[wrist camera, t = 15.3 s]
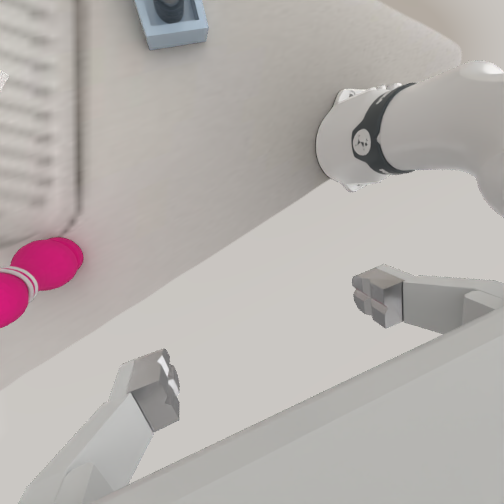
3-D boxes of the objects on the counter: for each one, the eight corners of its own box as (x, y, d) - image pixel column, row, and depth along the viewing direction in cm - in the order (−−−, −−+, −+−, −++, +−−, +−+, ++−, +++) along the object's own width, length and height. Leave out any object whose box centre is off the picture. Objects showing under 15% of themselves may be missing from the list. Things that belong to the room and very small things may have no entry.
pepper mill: (91, 241, 39) (12, 294, 21) (81, 281, 40) (-2, 364, 22) (38, 228, 37) (-105, 274, 18) (29, 270, 38) (-114, 354, 19)
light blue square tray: (187, -33, 33) (188, -56, 30) (206, 41, 36) (208, 27, 33) (124, -27, 32) (118, -50, 28) (149, 50, 34) (146, 36, 31)
